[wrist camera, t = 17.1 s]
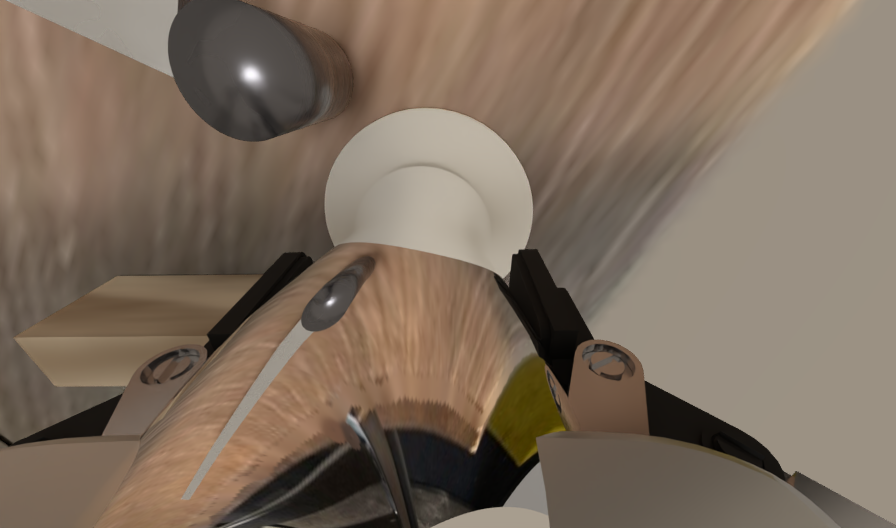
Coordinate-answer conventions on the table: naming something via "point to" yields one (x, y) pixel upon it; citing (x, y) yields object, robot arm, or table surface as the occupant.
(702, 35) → the table surface
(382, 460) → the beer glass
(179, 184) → the table surface
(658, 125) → the table surface
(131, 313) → the block
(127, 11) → the bar
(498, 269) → the white disc
